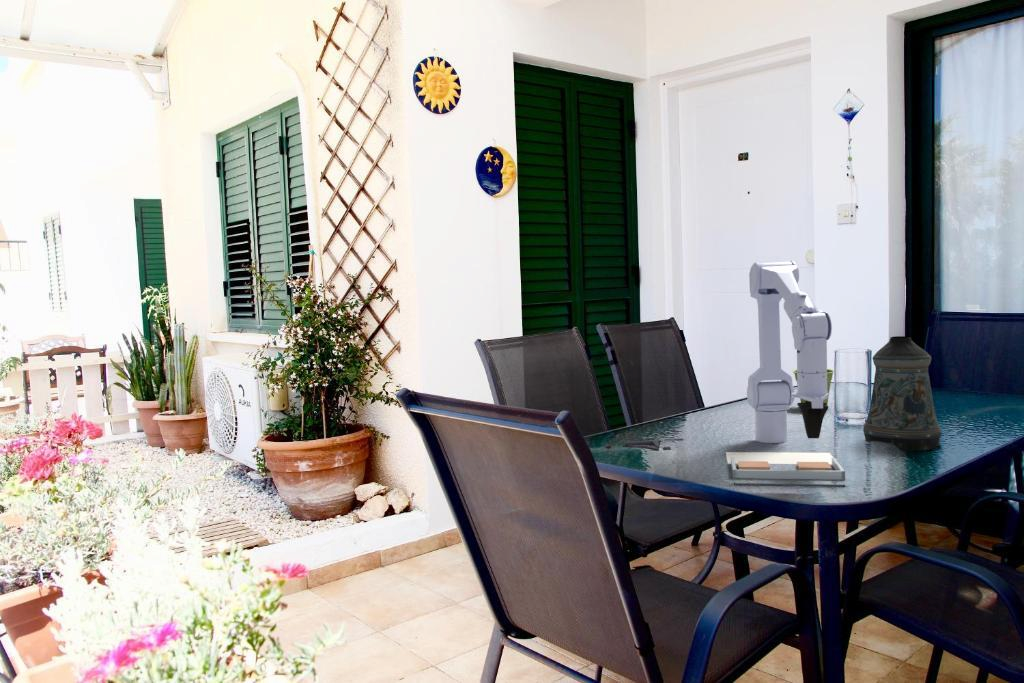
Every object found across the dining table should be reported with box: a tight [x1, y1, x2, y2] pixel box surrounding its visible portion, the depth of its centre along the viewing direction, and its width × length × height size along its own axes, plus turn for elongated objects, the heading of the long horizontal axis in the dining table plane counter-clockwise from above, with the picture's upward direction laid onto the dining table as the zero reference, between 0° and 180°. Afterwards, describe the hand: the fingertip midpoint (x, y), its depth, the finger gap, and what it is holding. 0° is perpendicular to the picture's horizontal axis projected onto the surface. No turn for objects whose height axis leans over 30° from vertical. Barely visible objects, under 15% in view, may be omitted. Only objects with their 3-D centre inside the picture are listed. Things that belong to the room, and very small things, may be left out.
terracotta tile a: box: [737, 461, 771, 470], centre depth 164 cm, size 5×6×2 cm
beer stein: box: [862, 335, 943, 451], centre depth 188 cm, size 16×19×25 cm
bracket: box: [624, 438, 684, 452], centre depth 192 cm, size 14×15×3 cm
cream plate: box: [725, 451, 834, 466], centre depth 172 cm, size 11×22×2 cm, turn 77°
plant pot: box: [792, 368, 835, 405], centre depth 240 cm, size 12×12×11 cm
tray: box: [730, 457, 846, 488], centre depth 161 cm, size 12×21×3 cm, turn 77°
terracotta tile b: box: [796, 462, 833, 471], centre depth 162 cm, size 5×6×2 cm
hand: (813, 437), depth 163 cm, fingers closed
